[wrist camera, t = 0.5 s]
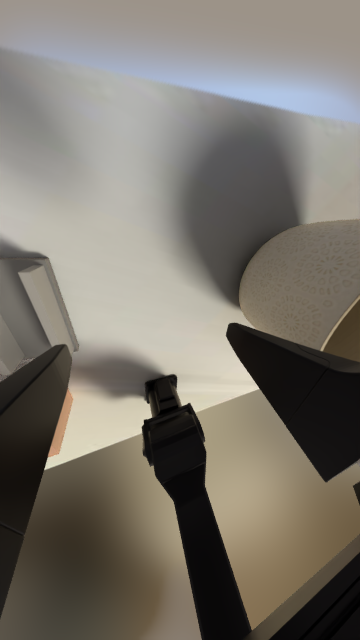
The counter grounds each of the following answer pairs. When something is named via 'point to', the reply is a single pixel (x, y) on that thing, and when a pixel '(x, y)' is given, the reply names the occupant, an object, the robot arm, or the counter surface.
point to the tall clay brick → (61, 425)
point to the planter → (308, 287)
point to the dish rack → (30, 312)
